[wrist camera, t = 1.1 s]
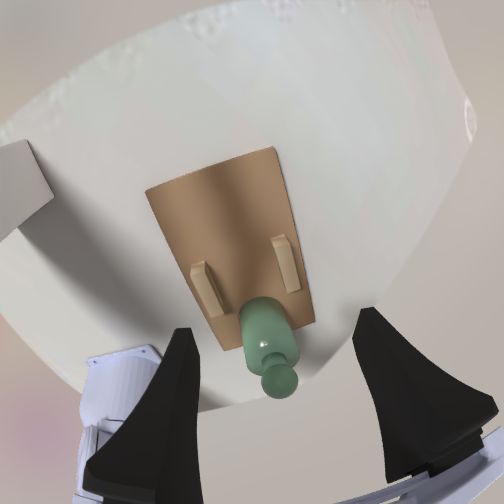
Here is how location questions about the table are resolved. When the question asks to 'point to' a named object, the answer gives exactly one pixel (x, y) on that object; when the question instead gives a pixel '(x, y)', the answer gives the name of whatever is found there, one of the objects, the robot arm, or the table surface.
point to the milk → (20, 186)
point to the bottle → (269, 345)
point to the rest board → (235, 240)
